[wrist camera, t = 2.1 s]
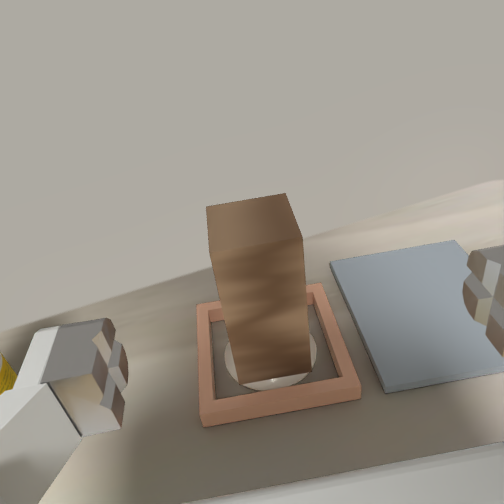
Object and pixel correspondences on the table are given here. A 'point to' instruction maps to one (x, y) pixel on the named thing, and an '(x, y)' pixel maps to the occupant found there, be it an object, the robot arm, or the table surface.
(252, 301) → the walnut block
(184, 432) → the table surface
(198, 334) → the terracotta frame
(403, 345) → the rubber mat
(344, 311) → the table surface
